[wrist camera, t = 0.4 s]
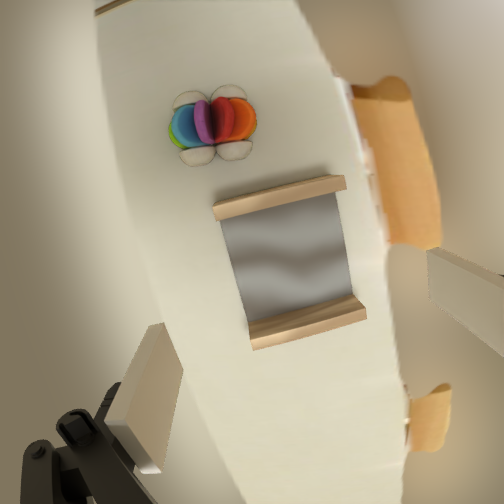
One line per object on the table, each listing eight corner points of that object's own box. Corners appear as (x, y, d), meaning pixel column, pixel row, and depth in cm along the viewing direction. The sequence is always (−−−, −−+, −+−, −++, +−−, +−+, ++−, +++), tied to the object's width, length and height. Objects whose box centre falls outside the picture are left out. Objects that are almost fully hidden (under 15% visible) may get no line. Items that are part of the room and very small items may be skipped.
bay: (215, 202, 37) (212, 207, 32) (330, 174, 37) (343, 175, 32) (250, 330, 41) (253, 350, 36) (353, 303, 41) (366, 318, 36)
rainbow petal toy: (260, 157, 36) (266, 153, 29) (177, 169, 36) (164, 169, 29) (250, 88, 34) (254, 70, 27) (168, 101, 34) (154, 85, 27)
